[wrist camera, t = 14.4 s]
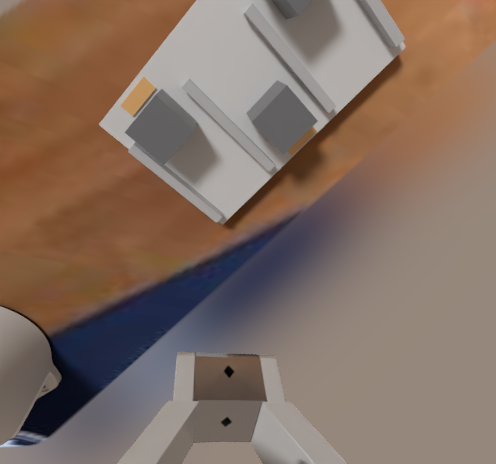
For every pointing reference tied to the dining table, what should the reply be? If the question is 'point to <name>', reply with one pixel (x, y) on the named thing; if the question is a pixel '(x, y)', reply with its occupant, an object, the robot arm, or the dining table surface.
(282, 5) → the grey cube
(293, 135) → the grey cubic block
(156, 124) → the gray cube
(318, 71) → the switch board
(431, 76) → the dining table surface
